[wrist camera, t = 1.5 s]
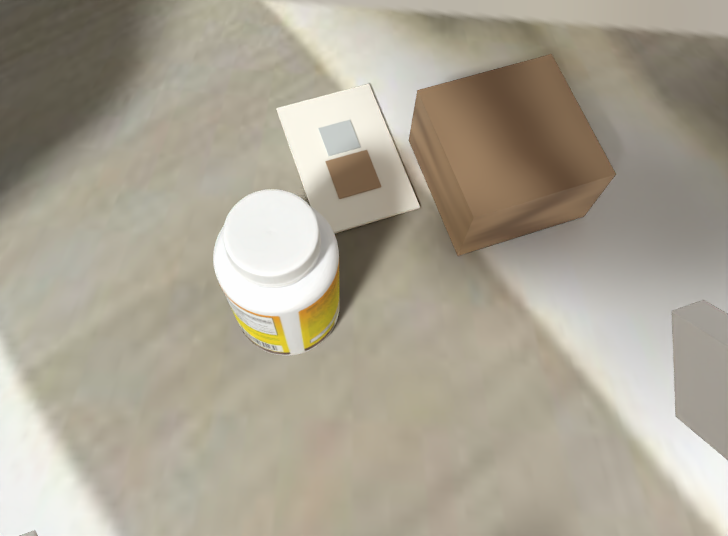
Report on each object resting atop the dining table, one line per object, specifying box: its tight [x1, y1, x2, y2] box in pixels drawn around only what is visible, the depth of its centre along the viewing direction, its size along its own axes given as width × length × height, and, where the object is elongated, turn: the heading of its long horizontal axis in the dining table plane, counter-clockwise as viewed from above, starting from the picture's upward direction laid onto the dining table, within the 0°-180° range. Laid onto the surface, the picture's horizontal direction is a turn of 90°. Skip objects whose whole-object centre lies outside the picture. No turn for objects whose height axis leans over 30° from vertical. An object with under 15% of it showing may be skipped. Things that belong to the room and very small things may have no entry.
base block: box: [409, 54, 616, 256], centre depth 39 cm, size 8×8×5 cm
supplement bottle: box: [213, 189, 340, 355], centre depth 33 cm, size 6×6×10 cm
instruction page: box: [276, 84, 420, 234], centre depth 41 cm, size 6×9×1 cm, turn 19°
